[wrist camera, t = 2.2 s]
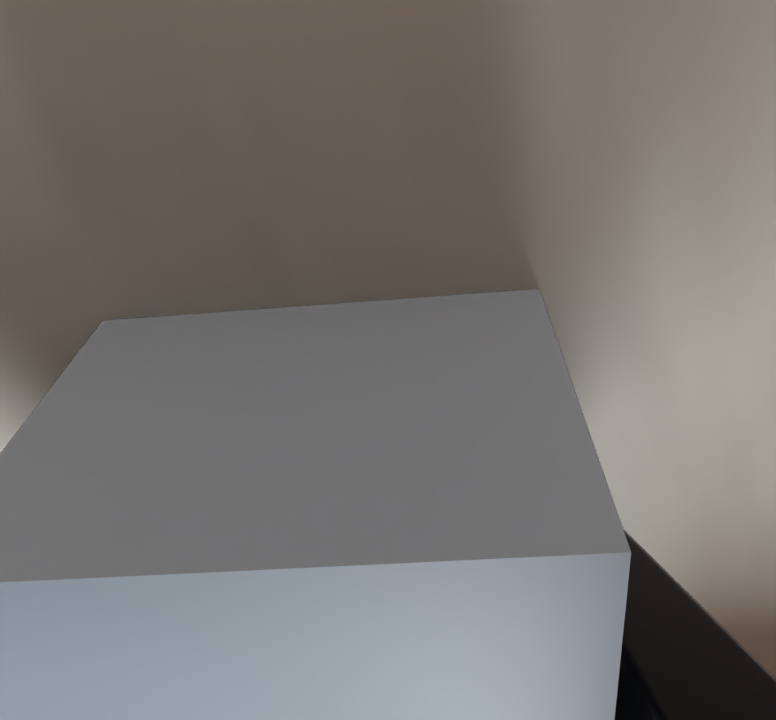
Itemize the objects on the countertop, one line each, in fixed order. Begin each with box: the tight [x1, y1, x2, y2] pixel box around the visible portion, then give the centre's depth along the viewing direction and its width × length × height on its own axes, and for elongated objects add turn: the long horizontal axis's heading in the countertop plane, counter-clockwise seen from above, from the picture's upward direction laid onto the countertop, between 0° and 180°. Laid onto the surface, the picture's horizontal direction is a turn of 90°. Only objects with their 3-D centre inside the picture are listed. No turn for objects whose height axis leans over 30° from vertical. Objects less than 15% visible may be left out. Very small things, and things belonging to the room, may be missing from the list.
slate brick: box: [0, 289, 631, 720], centre depth 8 cm, size 5×5×4 cm
